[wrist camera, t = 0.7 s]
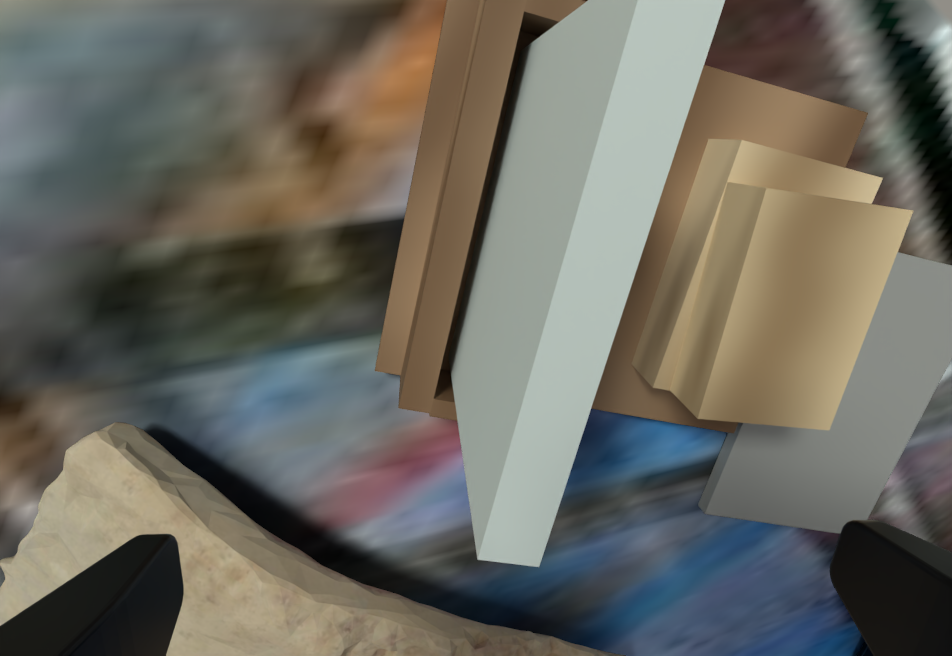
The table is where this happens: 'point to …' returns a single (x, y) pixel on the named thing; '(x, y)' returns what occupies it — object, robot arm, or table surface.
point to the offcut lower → (697, 228)
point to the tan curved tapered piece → (229, 567)
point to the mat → (846, 418)
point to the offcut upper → (784, 305)
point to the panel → (564, 249)
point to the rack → (468, 176)
